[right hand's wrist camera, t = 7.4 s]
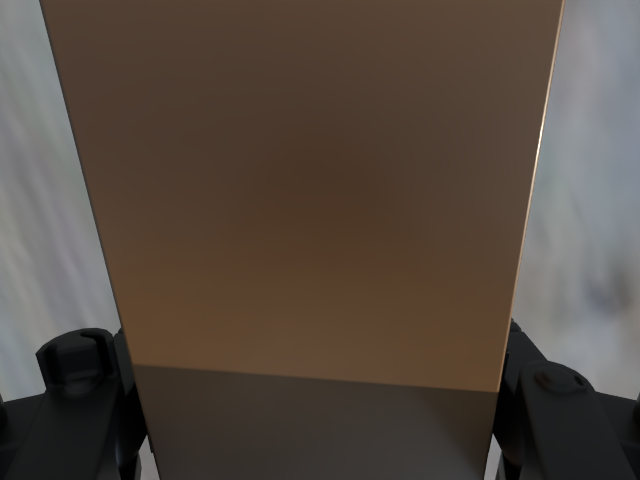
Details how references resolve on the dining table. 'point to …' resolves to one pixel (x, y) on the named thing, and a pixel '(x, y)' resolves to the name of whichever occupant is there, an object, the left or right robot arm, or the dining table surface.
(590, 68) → the dining table surface
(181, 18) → the bar
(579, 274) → the dining table surface
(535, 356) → the right robot arm
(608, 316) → the dining table surface
